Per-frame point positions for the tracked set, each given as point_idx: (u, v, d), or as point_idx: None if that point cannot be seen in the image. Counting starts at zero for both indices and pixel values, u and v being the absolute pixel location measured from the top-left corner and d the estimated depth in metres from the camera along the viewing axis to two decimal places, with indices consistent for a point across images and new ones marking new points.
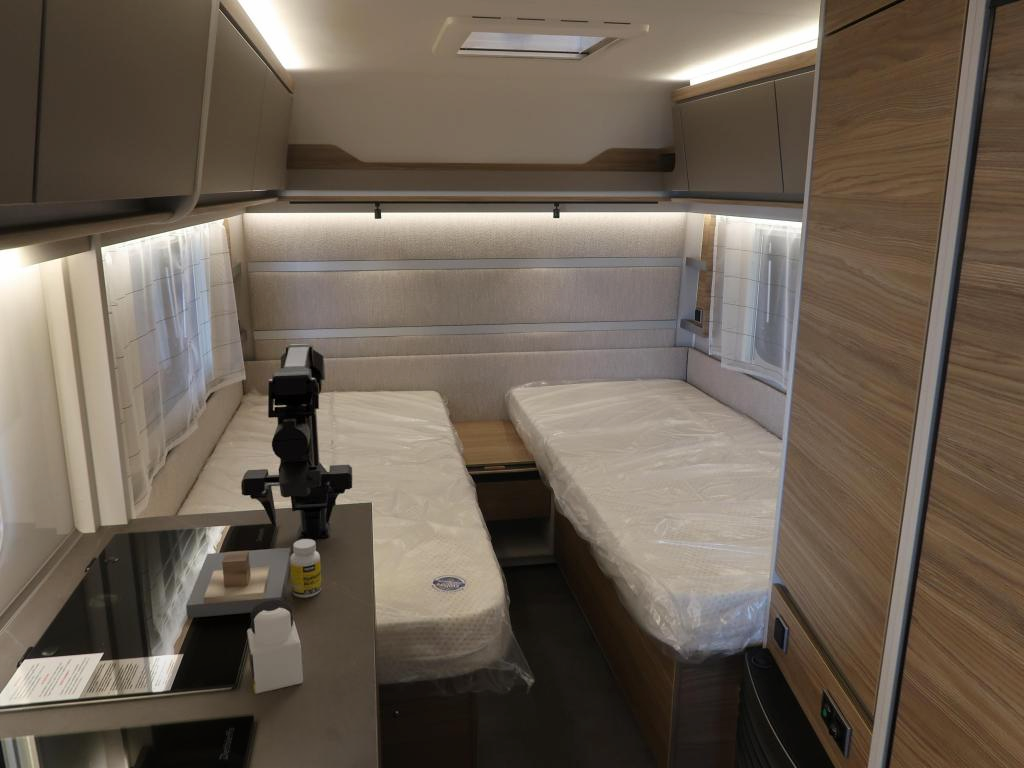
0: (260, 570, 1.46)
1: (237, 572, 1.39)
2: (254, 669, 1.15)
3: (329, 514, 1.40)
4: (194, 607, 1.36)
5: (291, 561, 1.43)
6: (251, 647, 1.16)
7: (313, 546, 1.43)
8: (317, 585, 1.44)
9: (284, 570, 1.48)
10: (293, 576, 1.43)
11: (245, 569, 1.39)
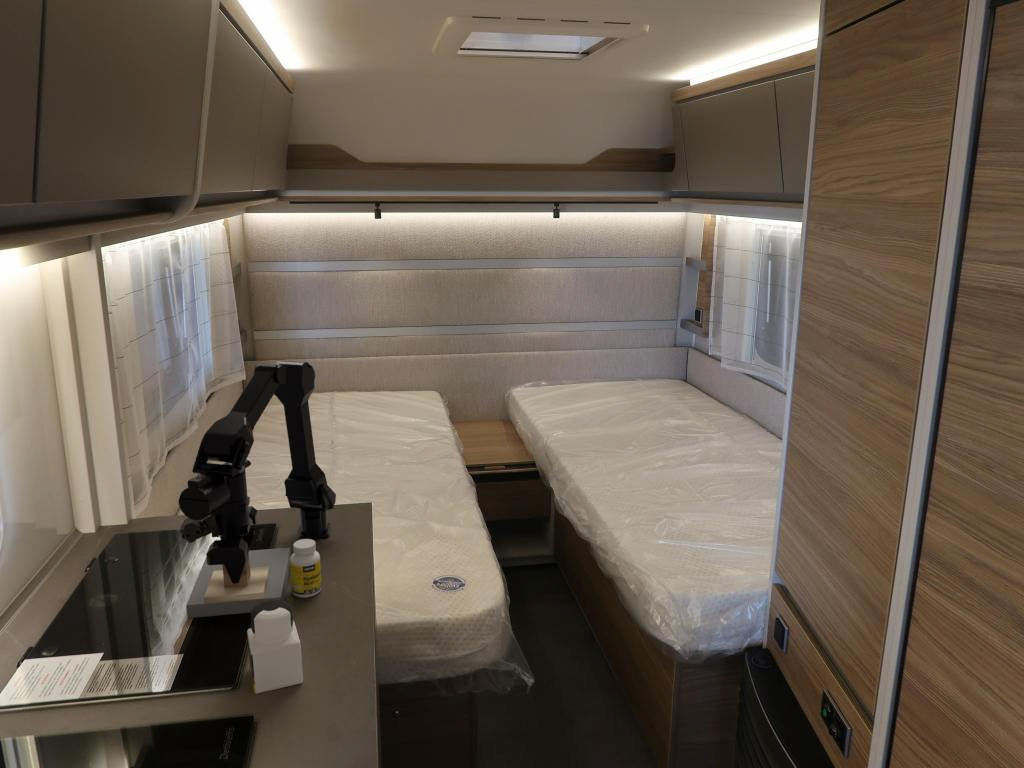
0: (260, 570, 1.46)
1: None
2: (254, 669, 1.15)
3: (229, 575, 1.38)
4: (194, 607, 1.36)
5: (291, 561, 1.43)
6: (251, 647, 1.16)
7: (313, 546, 1.43)
8: (317, 585, 1.44)
9: (284, 570, 1.48)
10: (293, 576, 1.43)
11: (245, 569, 1.39)
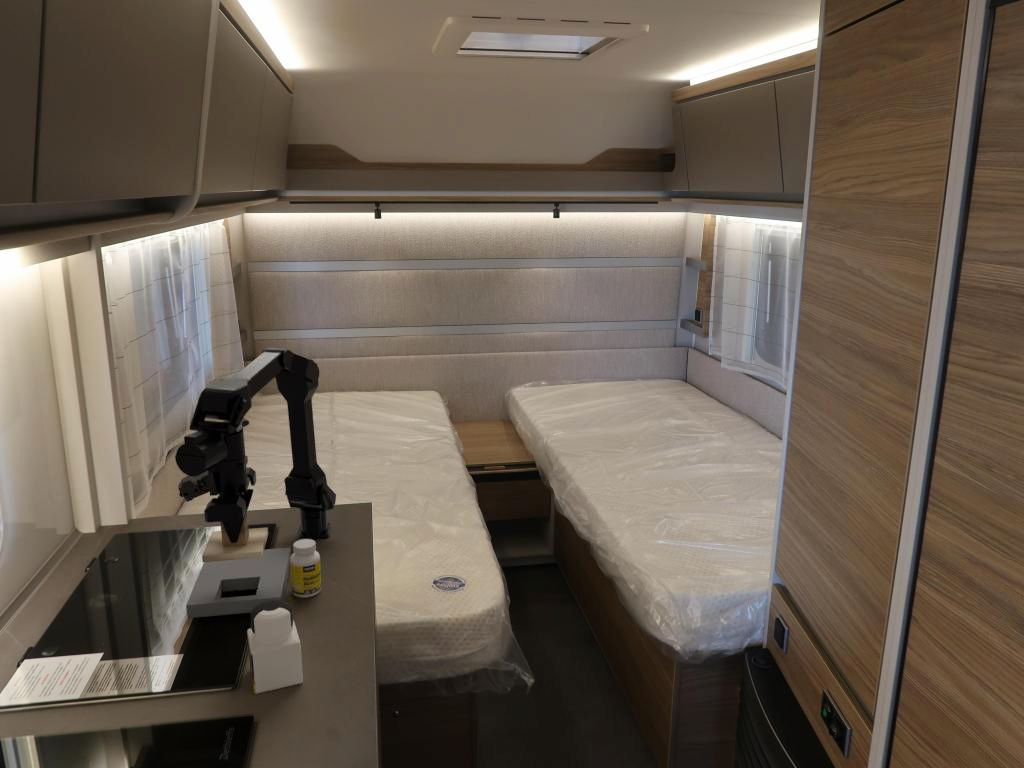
0: (259, 531, 1.45)
1: None
2: (254, 669, 1.15)
3: None
4: (194, 607, 1.36)
5: (291, 561, 1.43)
6: (251, 647, 1.16)
7: (313, 546, 1.43)
8: (317, 585, 1.44)
9: (284, 570, 1.48)
10: (293, 576, 1.43)
11: (243, 528, 1.39)
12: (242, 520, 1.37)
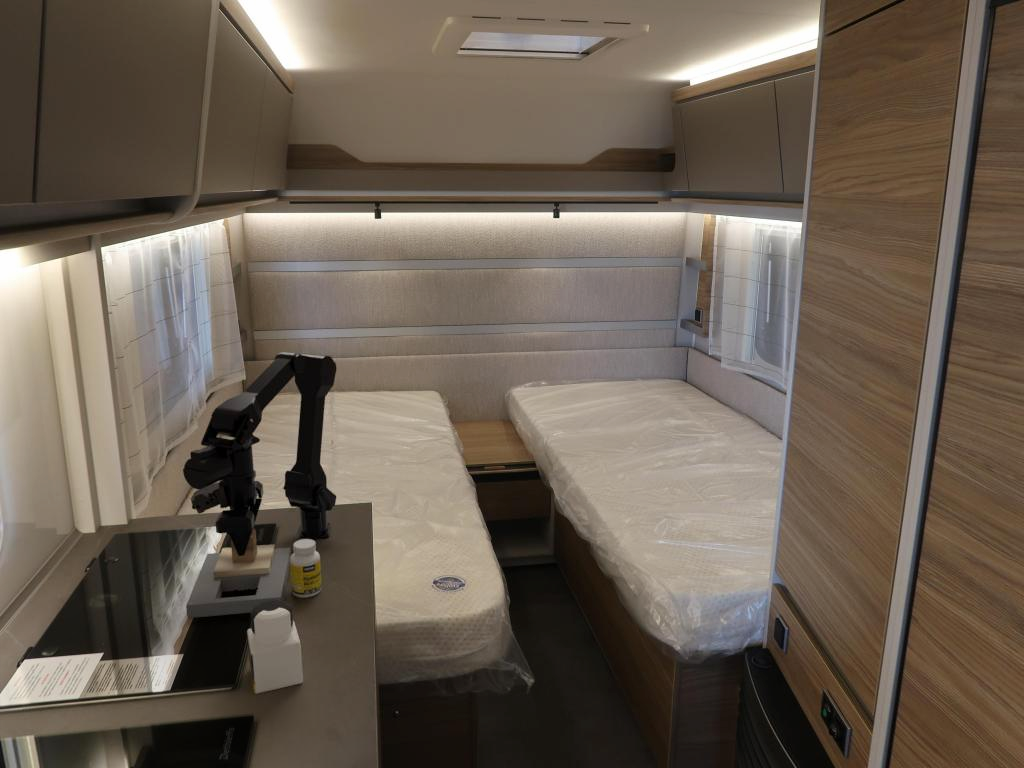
0: (266, 547, 1.55)
1: None
2: (254, 669, 1.15)
3: (235, 547, 1.46)
4: (194, 607, 1.36)
5: (291, 561, 1.43)
6: (251, 647, 1.16)
7: (313, 546, 1.43)
8: (317, 585, 1.44)
9: (284, 570, 1.48)
10: (293, 576, 1.43)
11: (252, 546, 1.48)
12: (249, 534, 1.44)
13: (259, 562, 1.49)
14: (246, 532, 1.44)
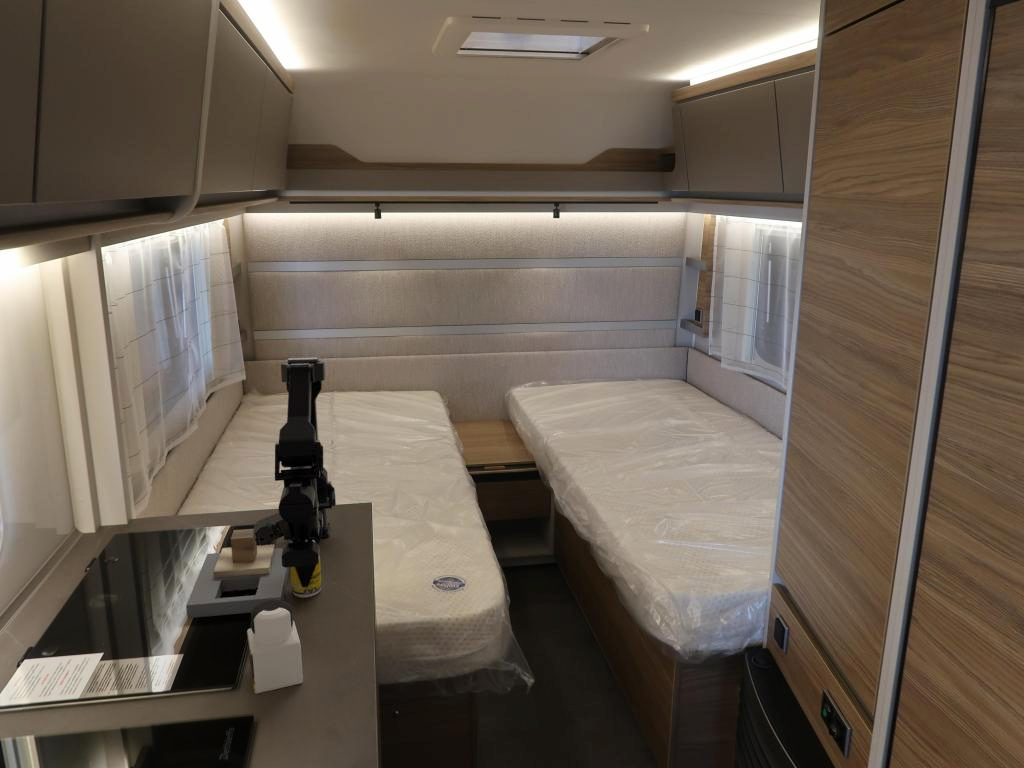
0: (266, 547, 1.55)
1: (244, 549, 1.48)
2: (254, 669, 1.15)
3: (299, 578, 1.41)
4: (194, 607, 1.36)
5: None
6: (251, 647, 1.16)
7: None
8: (317, 585, 1.44)
9: (284, 570, 1.48)
10: (293, 576, 1.43)
11: (252, 546, 1.48)
12: (314, 565, 1.40)
13: (259, 562, 1.49)
14: None
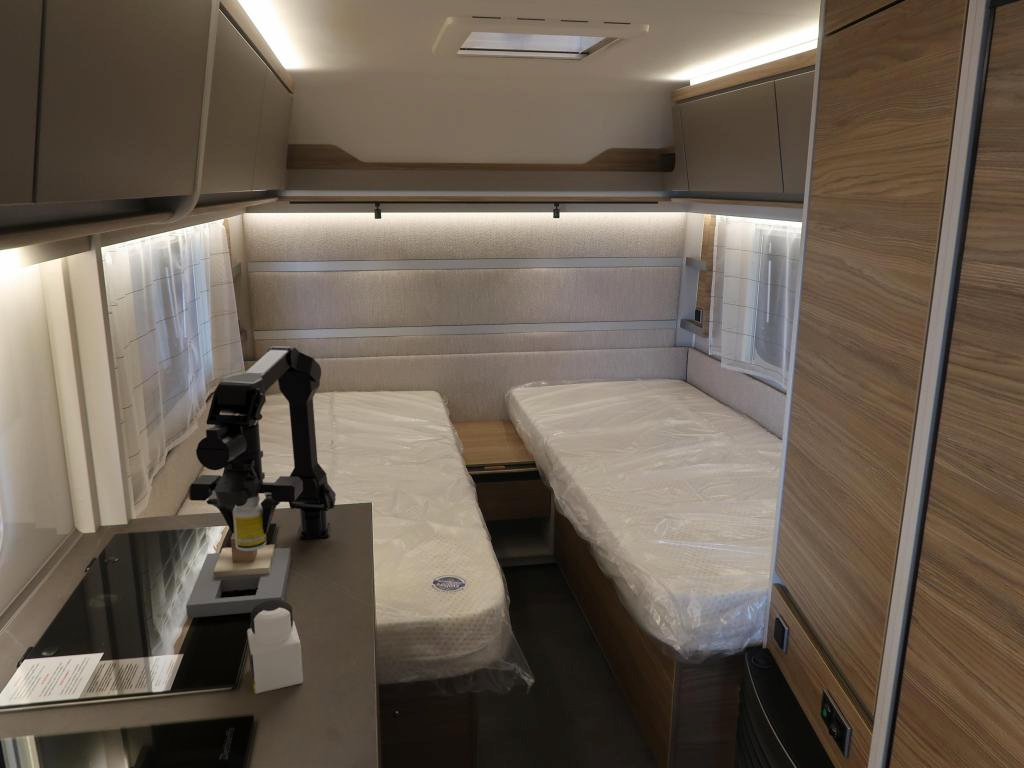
0: (266, 547, 1.55)
1: None
2: (254, 669, 1.15)
3: (266, 525, 1.39)
4: (194, 607, 1.36)
5: (250, 515, 1.37)
6: (251, 647, 1.16)
7: None
8: None
9: (284, 570, 1.48)
10: (254, 529, 1.38)
11: None
12: None
13: (259, 562, 1.49)
14: None
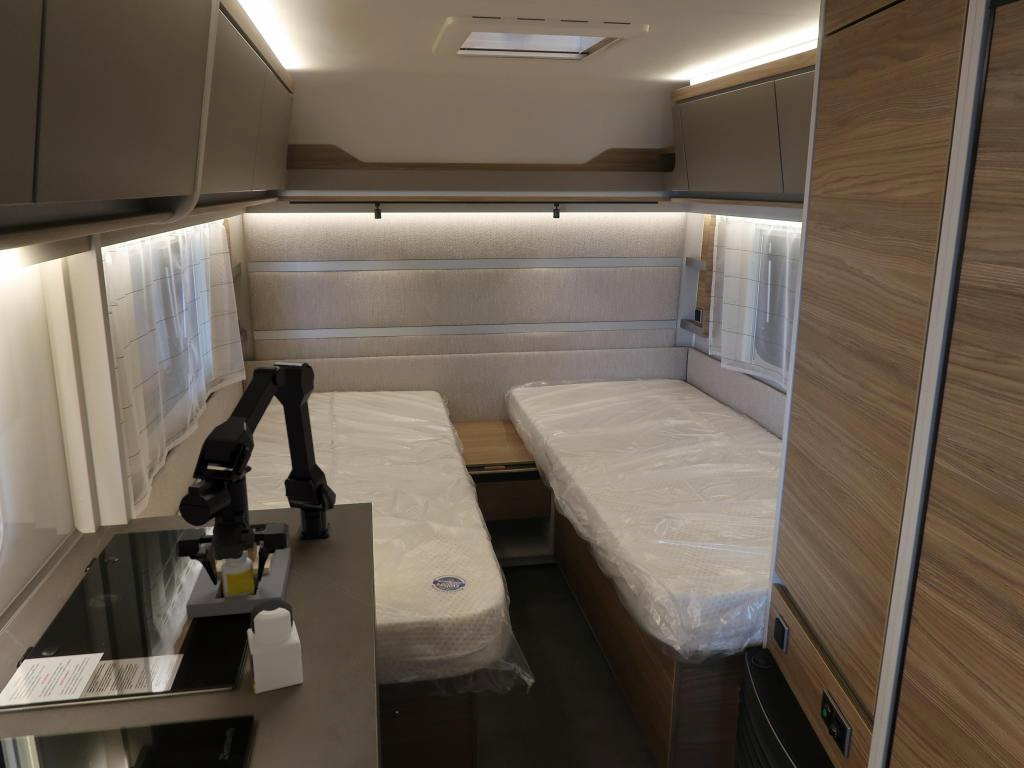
0: None
1: None
2: (254, 669, 1.15)
3: (261, 573, 1.41)
4: (194, 607, 1.36)
5: (241, 570, 1.39)
6: (251, 647, 1.16)
7: None
8: None
9: (284, 570, 1.48)
10: (246, 583, 1.40)
11: None
12: None
13: None
14: None
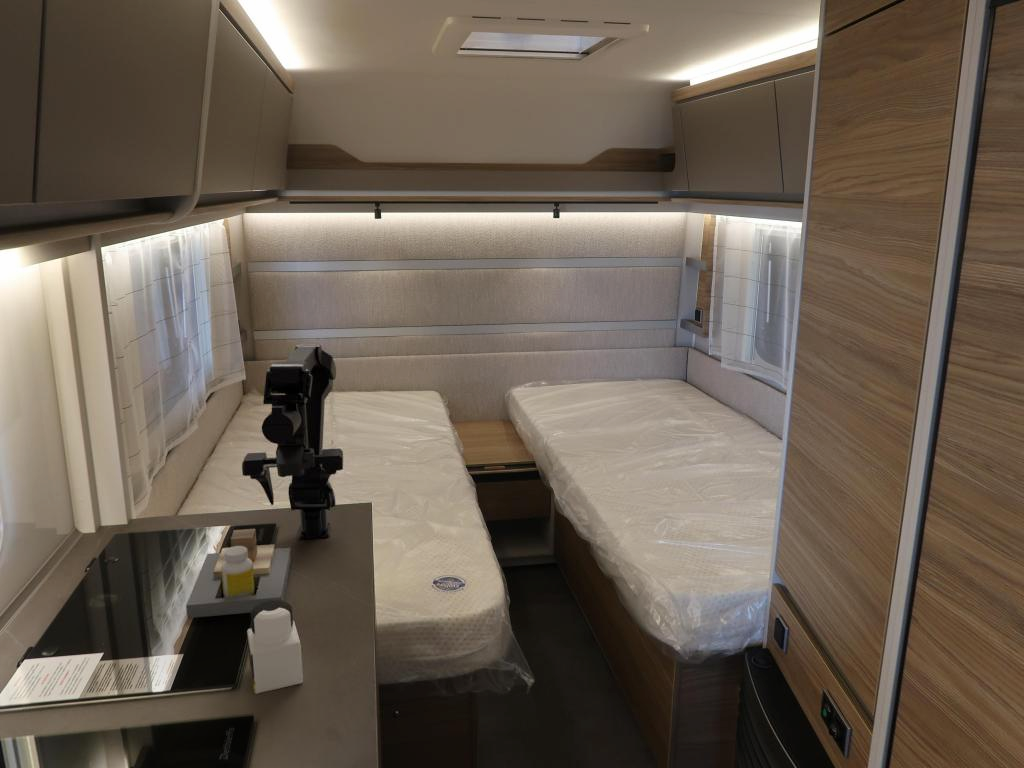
0: (266, 547, 1.55)
1: None
2: (254, 669, 1.15)
3: (322, 493, 1.53)
4: (194, 607, 1.36)
5: (241, 570, 1.39)
6: (251, 647, 1.16)
7: None
8: None
9: (284, 570, 1.48)
10: (245, 583, 1.40)
11: (252, 546, 1.48)
12: None
13: (259, 562, 1.49)
14: None
